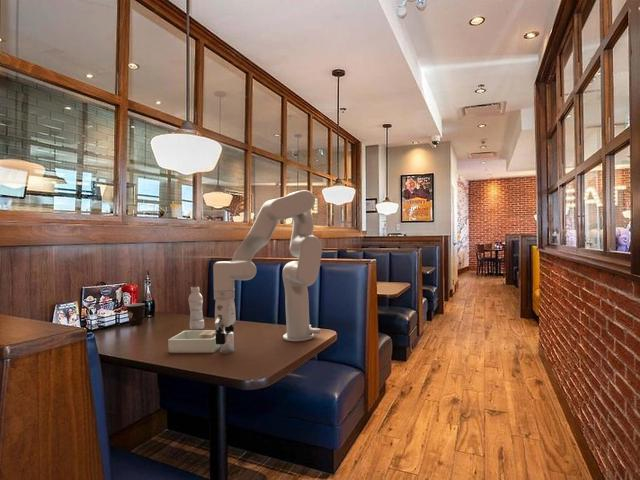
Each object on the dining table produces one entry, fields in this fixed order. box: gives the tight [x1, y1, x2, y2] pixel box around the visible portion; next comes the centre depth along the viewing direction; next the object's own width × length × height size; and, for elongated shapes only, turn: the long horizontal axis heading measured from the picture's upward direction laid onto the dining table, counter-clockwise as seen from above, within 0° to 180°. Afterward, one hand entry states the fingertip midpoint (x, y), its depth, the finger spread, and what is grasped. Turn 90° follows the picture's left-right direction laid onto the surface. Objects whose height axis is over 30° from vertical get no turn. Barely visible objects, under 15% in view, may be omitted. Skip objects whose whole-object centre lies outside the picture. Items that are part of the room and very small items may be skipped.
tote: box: [167, 329, 225, 354], centre depth 153 cm, size 18×14×5 cm
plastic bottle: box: [187, 286, 205, 331], centre depth 182 cm, size 6×7×20 cm
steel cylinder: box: [219, 331, 235, 355], centre depth 146 cm, size 5×5×7 cm
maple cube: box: [199, 331, 216, 339], centre depth 153 cm, size 5×5×5 cm
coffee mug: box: [126, 302, 149, 327], centre depth 198 cm, size 12×9×10 cm
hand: (225, 340), depth 146 cm, fingers open, 9 cm apart
